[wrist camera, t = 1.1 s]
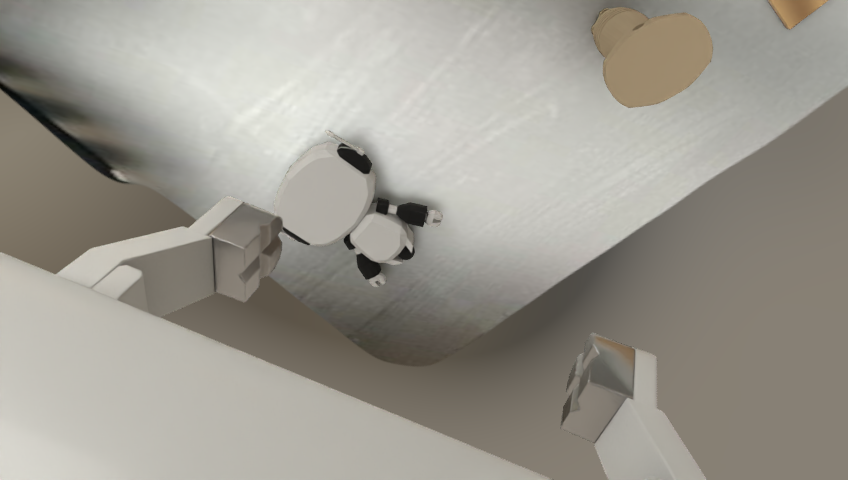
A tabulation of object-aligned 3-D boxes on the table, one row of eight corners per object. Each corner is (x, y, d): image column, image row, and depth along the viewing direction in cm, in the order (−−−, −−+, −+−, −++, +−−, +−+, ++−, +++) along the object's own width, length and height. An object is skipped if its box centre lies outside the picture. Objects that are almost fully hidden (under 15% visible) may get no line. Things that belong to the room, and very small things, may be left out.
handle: (658, 29, 49) (724, 67, 36) (588, 71, 51) (626, 122, 38) (633, -23, 47) (693, -3, 34) (562, 23, 49) (593, 58, 36)
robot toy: (451, 201, 59) (328, 112, 54) (451, 223, 55) (320, 129, 50) (380, 277, 64) (262, 201, 59) (376, 302, 60) (250, 223, 56)
